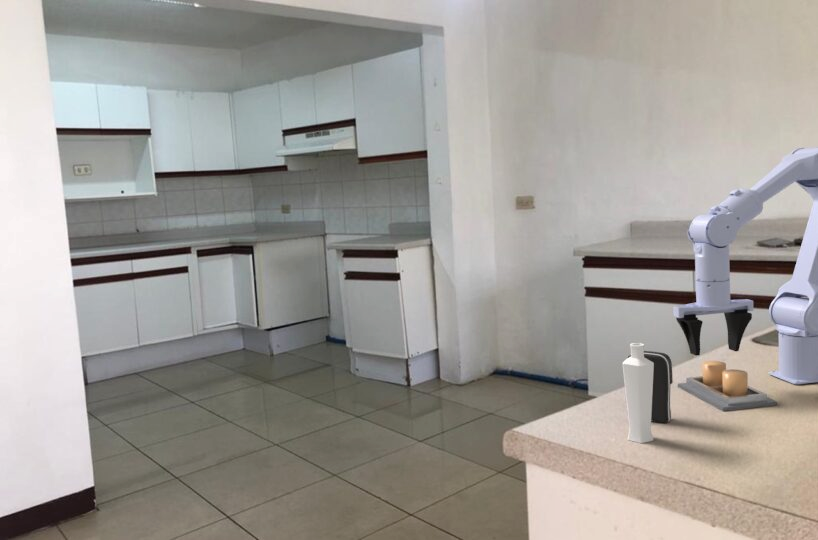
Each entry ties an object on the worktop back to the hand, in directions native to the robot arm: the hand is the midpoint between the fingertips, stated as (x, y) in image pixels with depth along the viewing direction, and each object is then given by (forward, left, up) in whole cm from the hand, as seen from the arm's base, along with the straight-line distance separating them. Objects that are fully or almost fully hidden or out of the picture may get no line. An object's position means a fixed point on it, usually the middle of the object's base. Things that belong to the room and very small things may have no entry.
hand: (714, 352), depth 124 cm
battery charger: (+18, +10, -8) cm, 22 cm away
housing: (0, +3, -7) cm, 8 cm away
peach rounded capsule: (0, 0, -7) cm, 7 cm away
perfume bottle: (+24, +18, -8) cm, 31 cm away
